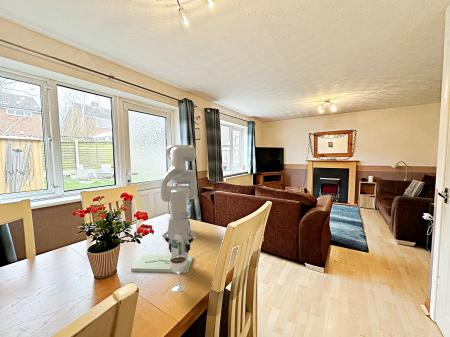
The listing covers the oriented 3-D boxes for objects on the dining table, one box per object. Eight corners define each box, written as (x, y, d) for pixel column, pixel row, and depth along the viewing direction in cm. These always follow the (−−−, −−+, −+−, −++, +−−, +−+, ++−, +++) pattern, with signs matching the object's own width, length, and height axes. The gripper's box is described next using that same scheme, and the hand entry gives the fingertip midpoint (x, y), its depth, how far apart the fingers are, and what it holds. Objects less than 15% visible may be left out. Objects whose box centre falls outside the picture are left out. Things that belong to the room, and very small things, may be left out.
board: (143, 257, 101) (143, 254, 101) (193, 258, 99) (193, 255, 99) (131, 271, 89) (131, 267, 89) (187, 272, 88) (187, 269, 87)
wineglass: (174, 296, 73) (173, 265, 72) (167, 286, 78) (166, 258, 77) (190, 289, 77) (190, 260, 76) (183, 280, 82) (182, 252, 81)
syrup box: (171, 262, 92) (170, 232, 91) (179, 256, 98) (178, 228, 97) (180, 265, 90) (179, 235, 89) (188, 259, 95) (187, 230, 94)
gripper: (198, 213, 95) (199, 247, 97) (163, 212, 96) (164, 247, 98) (195, 218, 88) (196, 255, 89) (157, 217, 89) (158, 254, 90)
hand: (179, 251), depth 93 cm, fingers closed on syrup box, 7 cm apart
